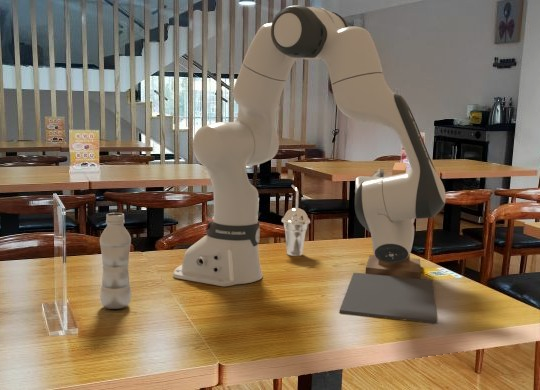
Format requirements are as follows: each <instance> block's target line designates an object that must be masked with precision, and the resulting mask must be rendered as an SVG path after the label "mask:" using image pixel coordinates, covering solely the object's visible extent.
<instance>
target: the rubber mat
mask: <svg viewBox="0 0 540 390" xmlns="http://www.w3.org/2000/svg"><path fill="white" fill-rule="evenodd" d="M433 281H434V280H433V279H427V278H425V279H424V278H420V279H416V278H406V277H395V276H385V275H375V274H366V273H363V272H353V273H352V277H351V279H350V282H349V284H348V286H347V289H346V292H345V294H344V298H343V300H342V302H341V305H340V308H339V311H338V312H339V314H340V313H341V314H348V315H355V316H364V317H365V316H366V317H373V316H375V317H374V318H382V317H387V318H386V319H391V318H396V319H395V320H399V319H406V320H405V321H408V320H414V321H413V322H417V321H422V322H421V323H426V322H431V323H430V324H435V323H436V324H437V311H436V299H435V292H434V282H433Z"/></svg>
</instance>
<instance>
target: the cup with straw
mask: <svg viewBox="0 0 540 390" xmlns="http://www.w3.org/2000/svg"><path fill="white" fill-rule="evenodd" d="M291 187H292V188H293V189H292V190H294V191H295V207H292V208H290V209H288V210H287V211H286V212H285V214H284V216H283V217H282V218H281V223H283V226H284V227H283V228H284V231H285V233H284V234H285V247H286V248H285V249H286V251H287V252H286V254H287V255H288V256H291V257H292V256H293V257H301V256H302V255H303V252H304V244H305V240H306V239H305V237H306V232H307V229H308V225H309V224H311V220H310V218H309V217H308V214H307V213H306V211H305V210H304V209H301V208H299V195H300V194H299V193H300V192H299V189H298V188H297V187H296V186H295V185H294V184H291Z"/></svg>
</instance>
